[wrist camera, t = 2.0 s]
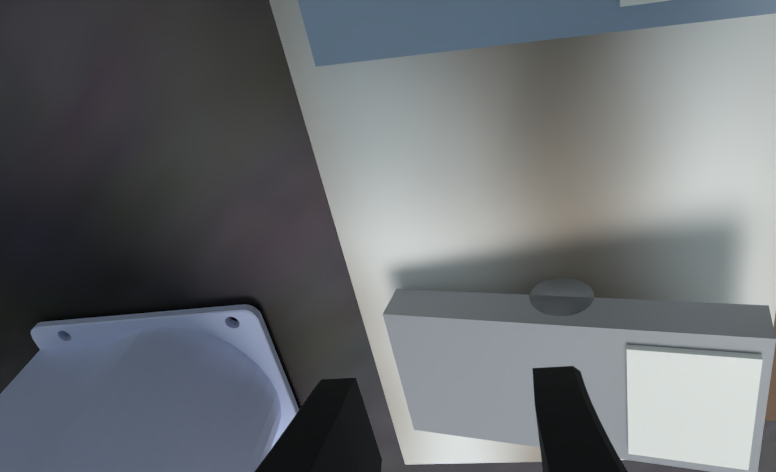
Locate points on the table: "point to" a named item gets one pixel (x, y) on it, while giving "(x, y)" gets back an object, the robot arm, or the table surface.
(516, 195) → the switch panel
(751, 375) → the grey flat block
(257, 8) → the table surface
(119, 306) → the table surface
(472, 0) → the blue rectangular block
